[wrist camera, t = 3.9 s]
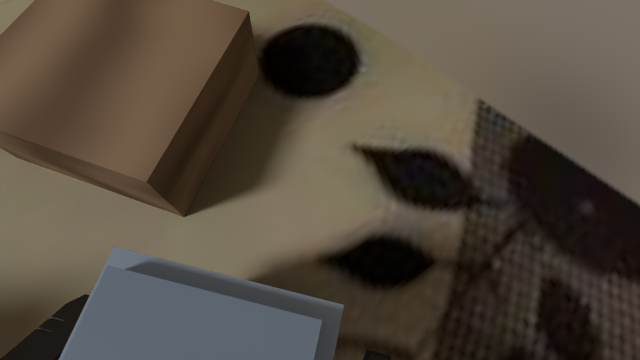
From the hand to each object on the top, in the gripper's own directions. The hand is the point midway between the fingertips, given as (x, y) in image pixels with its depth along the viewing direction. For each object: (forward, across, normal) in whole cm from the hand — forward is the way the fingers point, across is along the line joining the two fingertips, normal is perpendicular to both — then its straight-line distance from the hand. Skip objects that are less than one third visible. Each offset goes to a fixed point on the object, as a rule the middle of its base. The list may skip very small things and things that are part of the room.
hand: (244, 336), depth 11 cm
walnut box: (+11, +10, -3) cm, 15 cm away
